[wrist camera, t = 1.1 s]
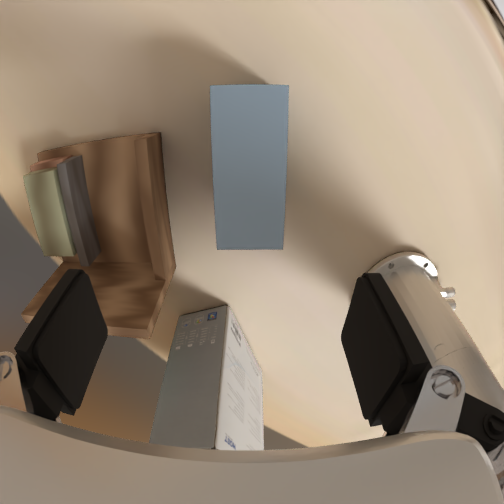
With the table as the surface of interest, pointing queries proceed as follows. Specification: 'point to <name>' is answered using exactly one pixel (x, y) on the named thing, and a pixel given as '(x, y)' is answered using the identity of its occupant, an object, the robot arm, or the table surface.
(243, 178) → the book
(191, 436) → the hard drive box
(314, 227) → the table surface
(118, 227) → the shelf
